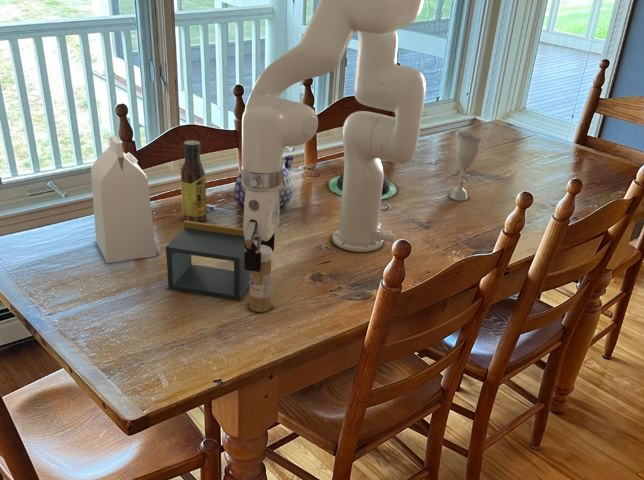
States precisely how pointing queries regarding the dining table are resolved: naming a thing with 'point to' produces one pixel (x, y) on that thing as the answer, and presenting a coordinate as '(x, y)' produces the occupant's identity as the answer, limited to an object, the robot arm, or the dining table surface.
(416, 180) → the dining table surface
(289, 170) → the teapot
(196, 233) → the shelf
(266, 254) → the sprinkles bottle
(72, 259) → the dining table surface
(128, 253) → the milk
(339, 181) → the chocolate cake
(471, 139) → the chalice
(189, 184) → the sauce bottle
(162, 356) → the dining table surface
